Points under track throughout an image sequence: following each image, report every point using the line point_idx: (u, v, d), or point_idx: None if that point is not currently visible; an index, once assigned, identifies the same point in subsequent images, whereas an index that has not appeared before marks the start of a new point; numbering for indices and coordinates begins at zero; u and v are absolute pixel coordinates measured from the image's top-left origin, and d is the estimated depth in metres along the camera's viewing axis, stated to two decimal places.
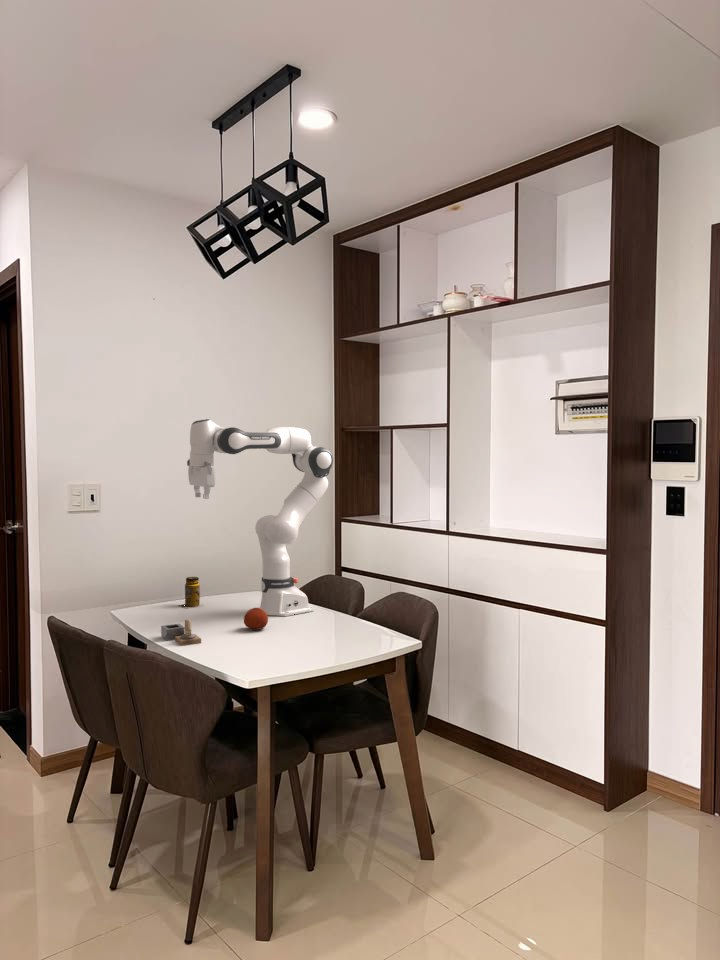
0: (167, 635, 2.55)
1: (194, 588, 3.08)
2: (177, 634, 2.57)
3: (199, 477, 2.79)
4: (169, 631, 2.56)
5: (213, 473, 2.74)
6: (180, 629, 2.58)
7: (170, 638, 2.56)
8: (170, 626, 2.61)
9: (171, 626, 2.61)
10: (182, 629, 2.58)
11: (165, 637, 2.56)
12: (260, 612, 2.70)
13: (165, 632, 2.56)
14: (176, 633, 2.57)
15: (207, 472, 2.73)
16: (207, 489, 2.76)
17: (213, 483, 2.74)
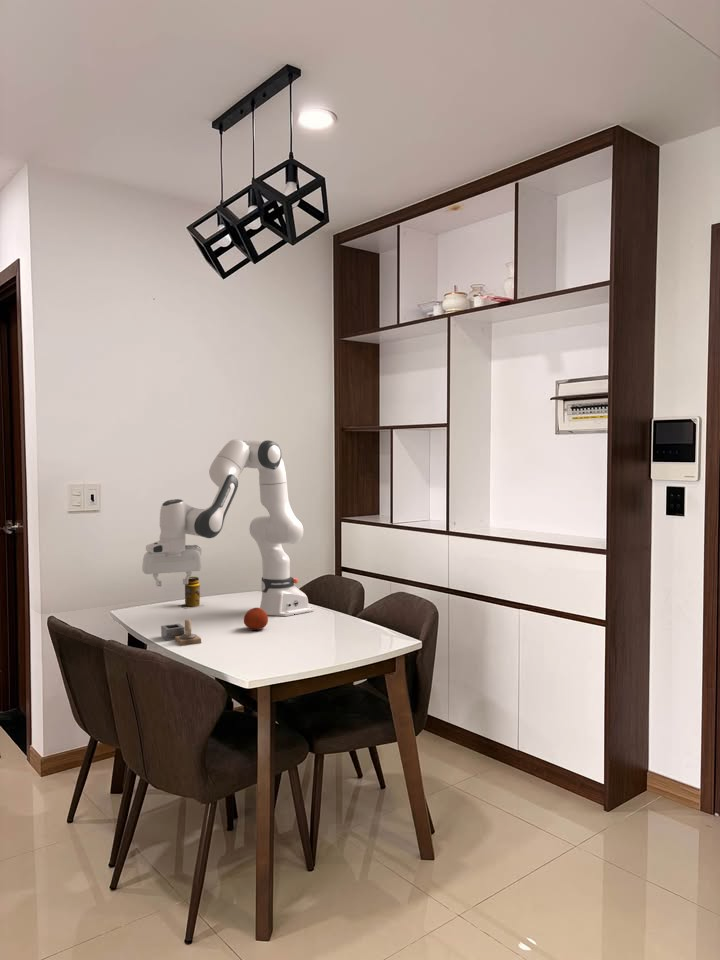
0: (167, 635, 2.55)
1: (194, 588, 3.08)
2: (177, 634, 2.57)
3: (180, 562, 2.58)
4: (169, 631, 2.56)
5: None
6: (180, 629, 2.58)
7: (170, 638, 2.56)
8: (170, 626, 2.61)
9: (171, 626, 2.61)
10: (182, 629, 2.58)
11: (165, 637, 2.56)
12: (260, 612, 2.70)
13: (165, 632, 2.56)
14: (176, 633, 2.57)
15: None
16: None
17: None
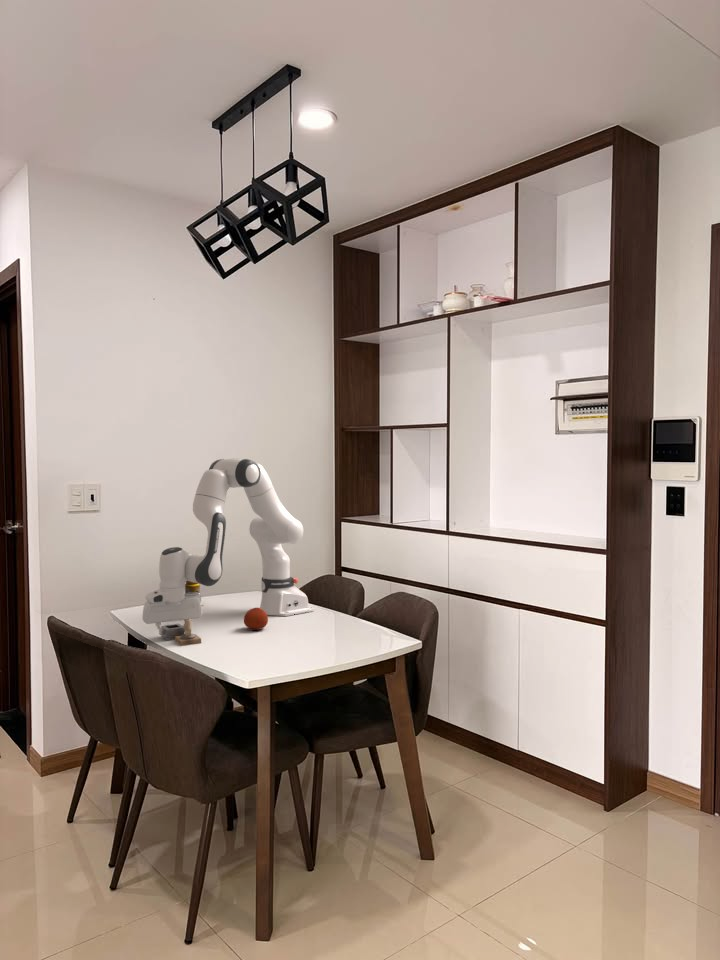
0: (167, 635, 2.55)
1: (194, 588, 3.08)
2: (177, 634, 2.57)
3: (180, 610, 2.59)
4: (169, 631, 2.56)
5: None
6: (180, 629, 2.58)
7: (170, 638, 2.56)
8: (170, 626, 2.61)
9: (171, 626, 2.61)
10: (182, 629, 2.58)
11: (165, 637, 2.56)
12: (260, 612, 2.70)
13: (165, 632, 2.56)
14: (176, 633, 2.57)
15: None
16: None
17: None
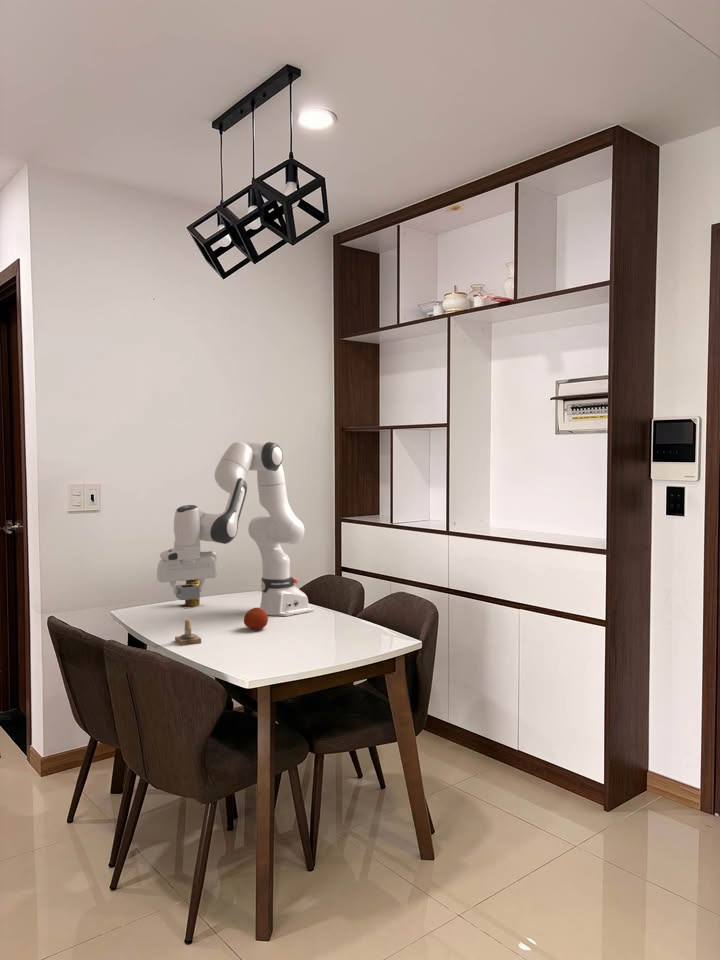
0: (182, 594, 2.49)
1: None
2: (192, 593, 2.51)
3: (195, 569, 2.53)
4: (184, 590, 2.50)
5: None
6: (195, 588, 2.52)
7: (185, 597, 2.50)
8: (185, 586, 2.55)
9: (186, 586, 2.55)
10: (197, 588, 2.52)
11: (180, 596, 2.50)
12: (260, 612, 2.70)
13: (180, 591, 2.50)
14: (191, 592, 2.51)
15: None
16: None
17: None
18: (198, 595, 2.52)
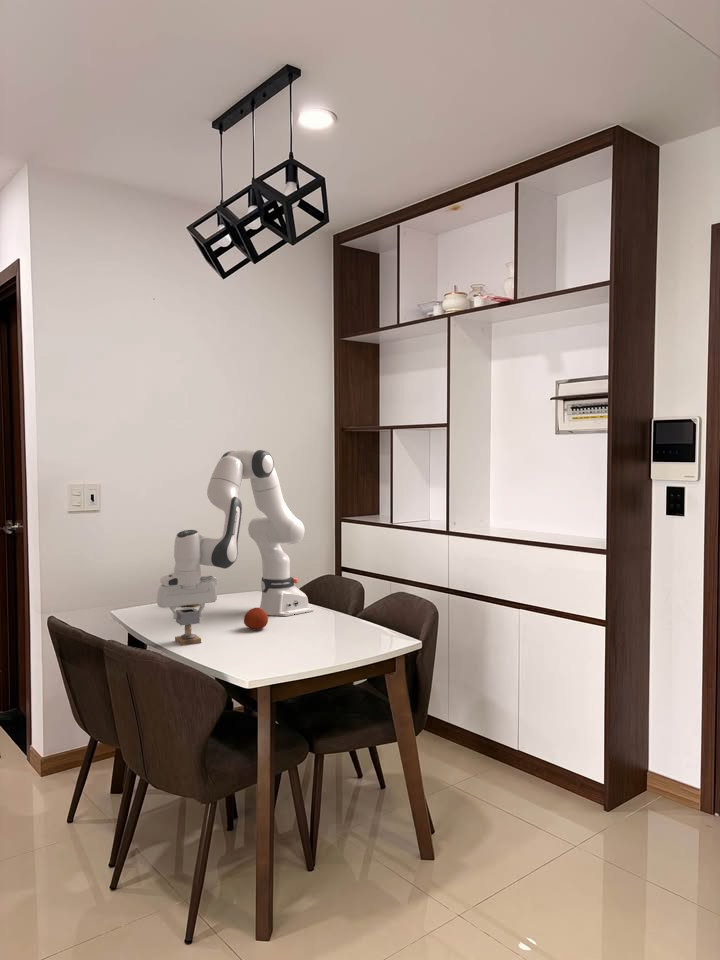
0: (182, 619, 2.50)
1: None
2: (192, 618, 2.51)
3: (196, 594, 2.53)
4: (184, 615, 2.50)
5: None
6: (195, 613, 2.52)
7: (185, 622, 2.50)
8: (185, 610, 2.55)
9: (186, 610, 2.55)
10: (197, 613, 2.52)
11: (180, 621, 2.50)
12: (260, 612, 2.70)
13: (180, 616, 2.50)
14: (191, 617, 2.51)
15: None
16: None
17: None
18: (198, 620, 2.52)
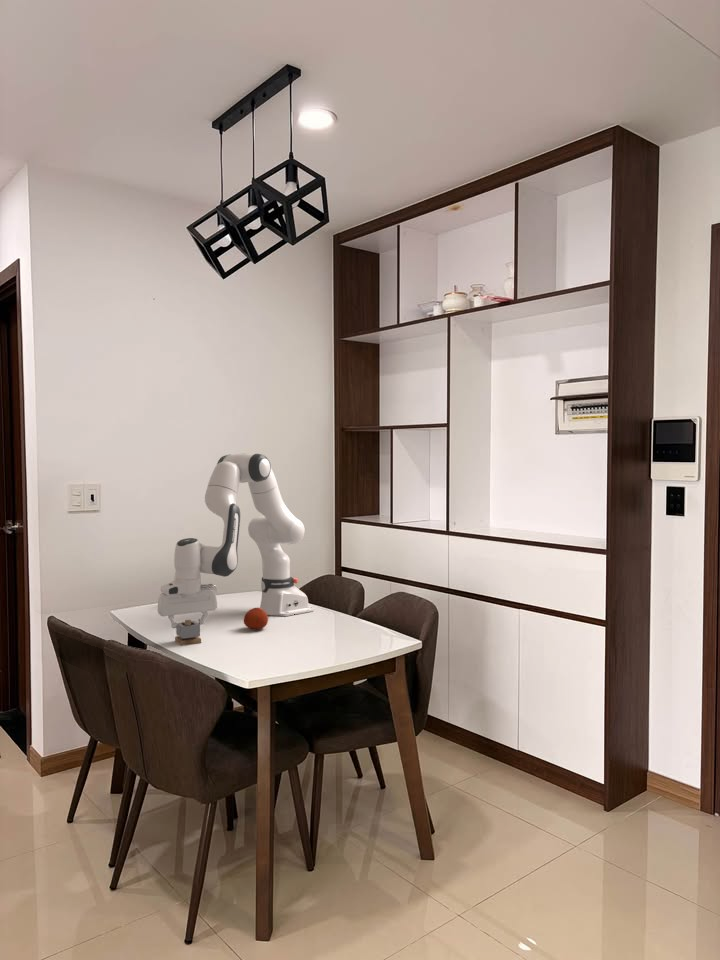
0: (182, 632, 2.50)
1: None
2: (193, 631, 2.52)
3: (196, 603, 2.53)
4: (184, 628, 2.50)
5: None
6: (196, 626, 2.52)
7: (185, 636, 2.50)
8: None
9: None
10: (198, 626, 2.53)
11: (180, 634, 2.51)
12: (260, 612, 2.70)
13: (180, 629, 2.51)
14: (192, 630, 2.51)
15: None
16: None
17: None
18: (198, 633, 2.53)
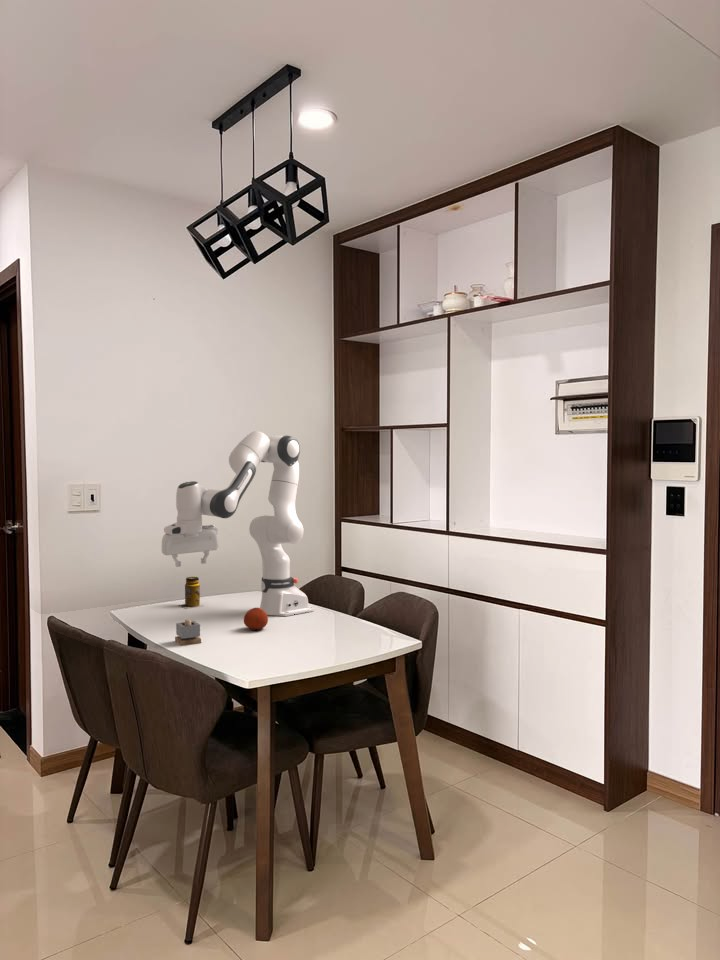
0: (182, 632, 2.50)
1: (194, 588, 3.08)
2: (193, 631, 2.52)
3: (198, 542, 2.66)
4: (184, 628, 2.50)
5: None
6: (196, 626, 2.52)
7: (185, 636, 2.50)
8: None
9: None
10: (198, 626, 2.53)
11: (180, 634, 2.51)
12: (260, 612, 2.70)
13: (180, 629, 2.51)
14: (192, 630, 2.51)
15: None
16: None
17: None
18: (198, 633, 2.53)
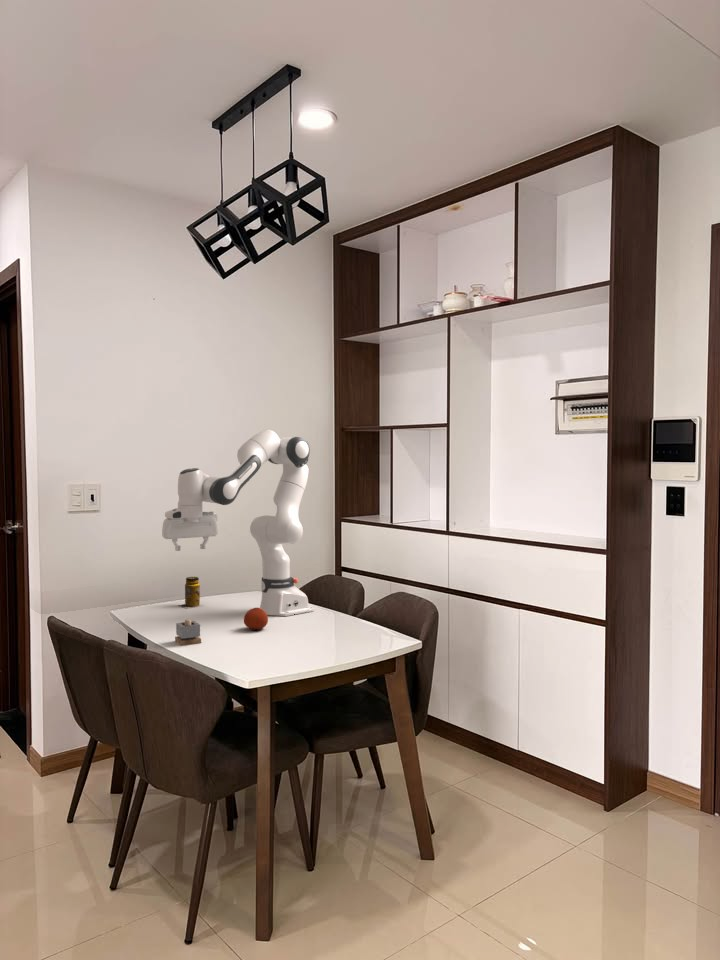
0: (182, 632, 2.50)
1: (194, 588, 3.08)
2: (193, 631, 2.52)
3: (198, 528, 2.72)
4: (184, 628, 2.50)
5: None
6: (196, 626, 2.52)
7: (185, 636, 2.50)
8: None
9: None
10: (198, 626, 2.53)
11: (180, 634, 2.51)
12: (260, 612, 2.70)
13: (180, 629, 2.51)
14: (192, 630, 2.51)
15: None
16: None
17: None
18: (198, 633, 2.53)
